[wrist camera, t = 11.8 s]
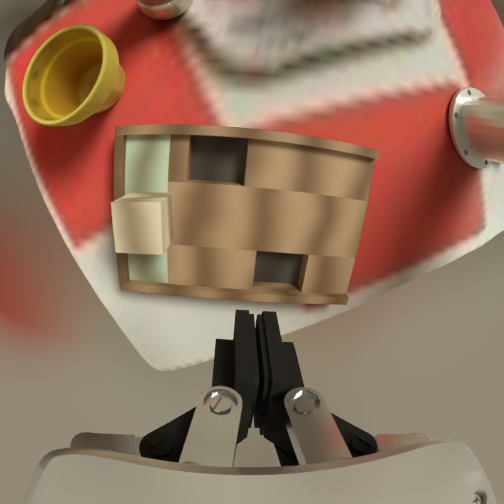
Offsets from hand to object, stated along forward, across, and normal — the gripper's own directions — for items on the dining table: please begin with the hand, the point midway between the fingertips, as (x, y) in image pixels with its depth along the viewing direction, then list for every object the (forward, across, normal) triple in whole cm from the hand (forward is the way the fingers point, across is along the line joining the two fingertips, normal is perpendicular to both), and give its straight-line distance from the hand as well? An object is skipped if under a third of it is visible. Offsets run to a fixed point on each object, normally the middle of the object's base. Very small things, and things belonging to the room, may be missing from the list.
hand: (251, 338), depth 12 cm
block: (+19, +10, 0) cm, 22 cm away
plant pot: (+22, +18, -15) cm, 32 cm away
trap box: (+22, 0, 0) cm, 22 cm away
